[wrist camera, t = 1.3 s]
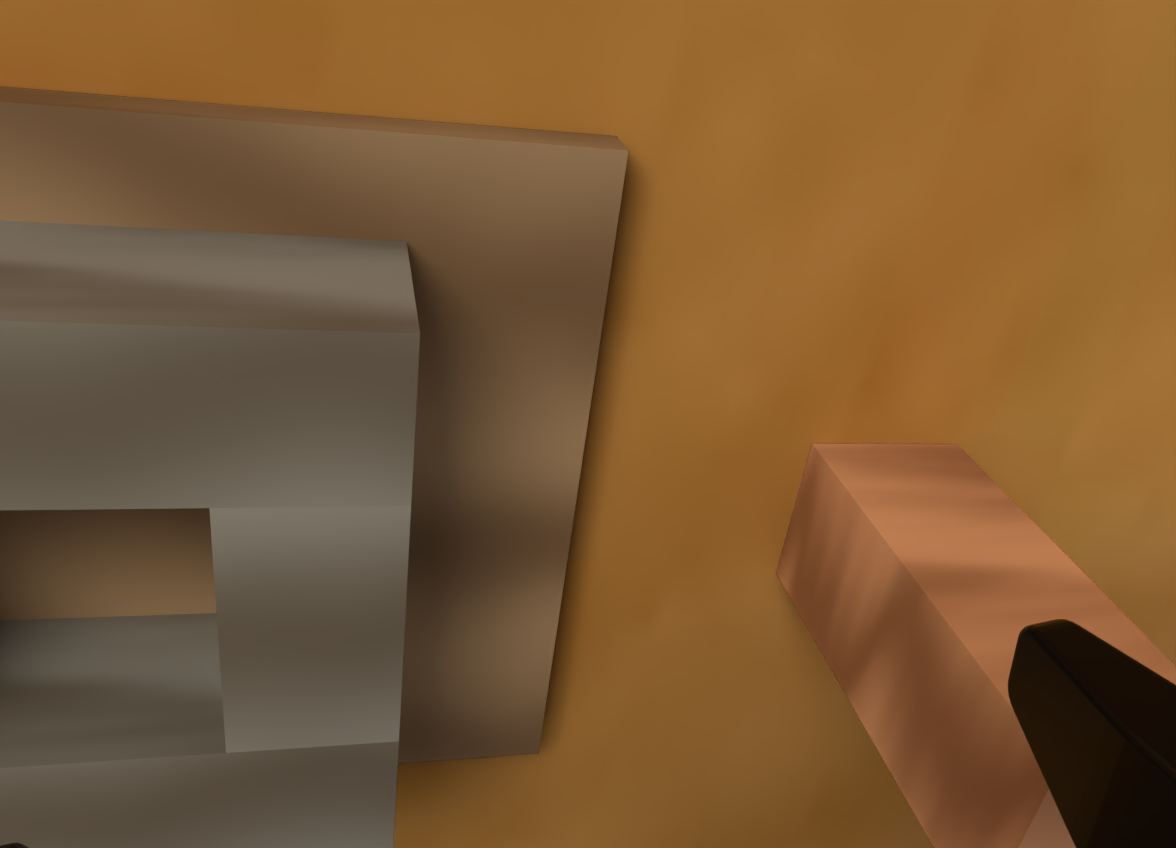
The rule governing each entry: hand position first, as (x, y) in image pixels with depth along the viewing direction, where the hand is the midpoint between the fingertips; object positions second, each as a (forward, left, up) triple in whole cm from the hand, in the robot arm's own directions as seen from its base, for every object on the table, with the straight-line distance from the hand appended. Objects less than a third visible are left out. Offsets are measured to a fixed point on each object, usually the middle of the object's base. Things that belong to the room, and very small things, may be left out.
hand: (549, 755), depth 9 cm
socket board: (-6, +7, -13) cm, 16 cm away
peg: (-7, -11, -13) cm, 18 cm away
